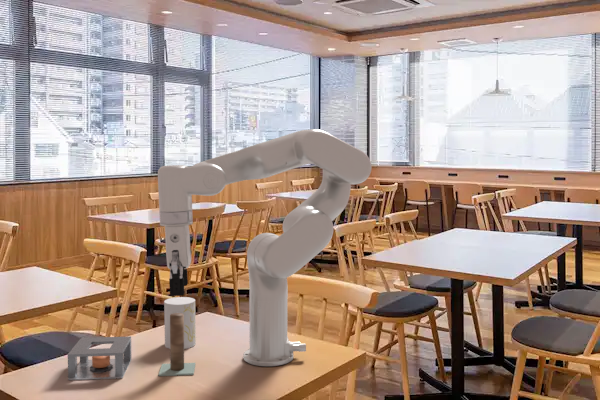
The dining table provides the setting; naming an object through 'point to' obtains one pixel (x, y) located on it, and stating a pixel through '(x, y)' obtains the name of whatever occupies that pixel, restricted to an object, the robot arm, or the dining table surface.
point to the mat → (167, 371)
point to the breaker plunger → (100, 361)
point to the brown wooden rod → (177, 341)
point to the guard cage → (82, 350)
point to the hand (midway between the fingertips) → (179, 290)
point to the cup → (188, 309)
